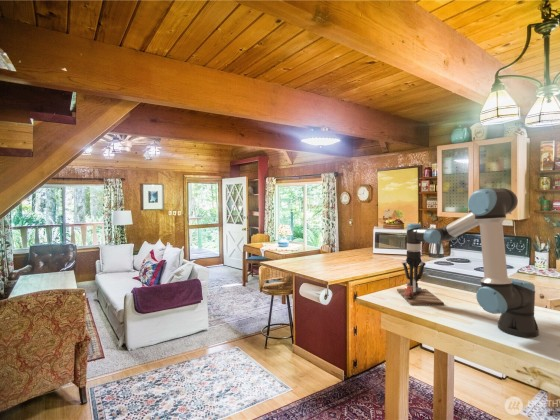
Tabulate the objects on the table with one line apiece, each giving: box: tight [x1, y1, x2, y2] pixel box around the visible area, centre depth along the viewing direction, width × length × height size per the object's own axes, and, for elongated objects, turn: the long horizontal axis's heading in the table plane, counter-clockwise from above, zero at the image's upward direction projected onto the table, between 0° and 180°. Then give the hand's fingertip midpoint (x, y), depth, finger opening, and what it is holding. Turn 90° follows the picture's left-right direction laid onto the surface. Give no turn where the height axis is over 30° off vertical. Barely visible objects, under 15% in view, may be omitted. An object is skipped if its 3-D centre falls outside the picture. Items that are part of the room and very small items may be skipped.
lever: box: [404, 285, 422, 298], centre depth 196 cm, size 20×6×7 cm, turn 142°
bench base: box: [396, 276, 445, 306], centre depth 196 cm, size 26×18×10 cm
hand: (413, 291), depth 190 cm, fingers closed
